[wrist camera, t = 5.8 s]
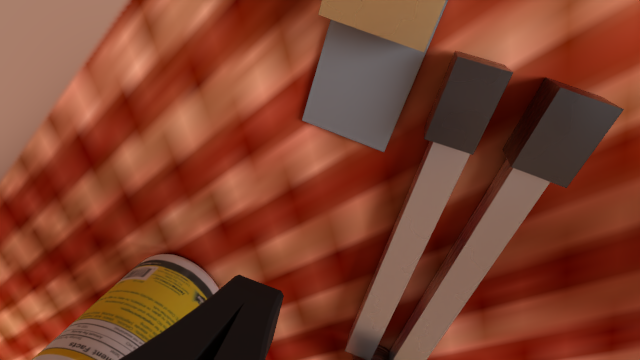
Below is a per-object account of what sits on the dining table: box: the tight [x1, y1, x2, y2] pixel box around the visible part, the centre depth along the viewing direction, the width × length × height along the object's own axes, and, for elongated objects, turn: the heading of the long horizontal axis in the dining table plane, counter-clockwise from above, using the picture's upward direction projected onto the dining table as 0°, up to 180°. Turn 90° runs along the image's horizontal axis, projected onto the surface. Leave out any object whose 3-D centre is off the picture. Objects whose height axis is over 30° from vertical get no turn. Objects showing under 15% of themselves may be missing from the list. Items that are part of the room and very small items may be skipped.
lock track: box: [302, 0, 448, 152], centre depth 14 cm, size 4×8×1 cm, turn 163°
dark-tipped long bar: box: [353, 78, 624, 360], centre depth 17 cm, size 3×18×2 cm, turn 163°
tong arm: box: [345, 51, 513, 360], centre depth 16 cm, size 3×17×3 cm, turn 165°
